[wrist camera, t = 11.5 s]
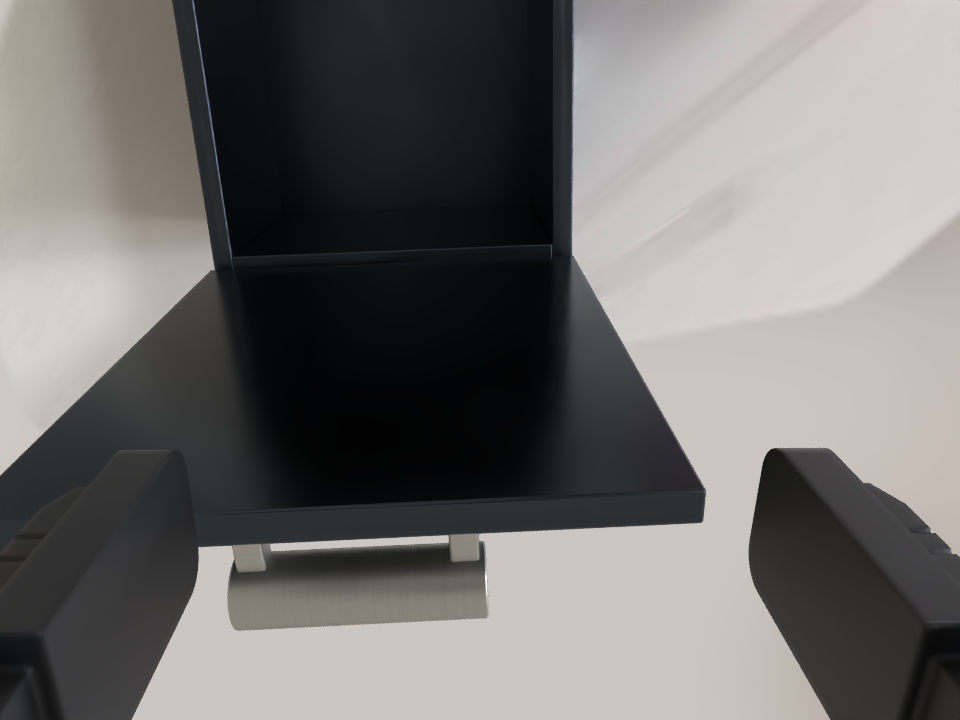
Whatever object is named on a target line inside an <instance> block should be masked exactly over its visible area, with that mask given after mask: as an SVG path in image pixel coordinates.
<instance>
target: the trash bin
mask: <svg viewBox="0 0 960 720" xmlns="http://www.w3.org/2000/svg"><path fill="white" fill-rule="evenodd" d="M172 3H173V9H174V16H175V22H176V28H177V34H178V41H179V47H180V53H181V60H182V66H183V72H184V78H185V85H186V91H187V97H188V104H189V110H190V116H191V122H192V129H193V135H194V141H195V148H196V154H197V160H198V166H199V173H200V179H201V185H202V192H203V198H204V204H205V210H206V217H207V223H208V229H209V236H210V242H211V248H212V255H213V261H214V267H215V270H232V269H257V268H281V267H306V266H331V265H355V264H380V263H405V262H429V261H454V260H479V259H503V258H528V257H553V256H572V177H573V70H574V0H172Z"/></svg>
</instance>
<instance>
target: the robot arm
mask: <svg viewBox="0 0 960 720" xmlns="http://www.w3.org/2000/svg"><path fill="white" fill-rule="evenodd" d="M198 558H199V556H198V543H197V536H196V529H195V522H194V516H193V509H192V502H191V495H190V488H189V482H188V475H187V468H186V463H185V460H184V457H183V455H182V454H181V452H180V451H178V450H120V451H118V452H117V453H115V454H114V456H113V457H112V458H111V459H110V460H109V461H108V463H107V464H106V465H105V466H104V467H103V468H102V470H101V471H100V472H99V473H98V474H97V476H96V477H95V478H94V479H93V480H92V481H91V483H90V484H89V485H88V486H87V487H75V488H73V489H71V490H70V491H68V492H66V493H65V494H63V495H62V496H60V497H58V498H57V499H55V500H53V501H52V502H50V503H48V504H47V505H45V506H43V507H42V508H40V509H39V510H38V511H37V512H36V513H35V514H34V516H33V517H32V518H31V519H30V520H29V521H28V522H27V523H26V524H25V525H24V527H23V528H22V529H21V530H20V531H19V532H18V533H17V534H16V540H11V541H10V542H9V543H8V544H7V545H6V546H5V547H4V548H3V550H2V551H1V552H0V720H131V719H132V718H133V715H134V713H135V711H136V709H137V707H138V705H139V703H140V701H141V699H142V697H143V695H144V693H145V691H146V688H147V686H148V684H149V682H150V680H151V678H152V676H153V674H154V672H155V670H156V668H157V666H158V664H159V662H160V660H161V658H162V655H163V653H164V651H165V649H166V647H167V645H168V643H169V641H170V639H171V637H172V635H173V633H174V631H175V629H176V626H177V624H178V622H179V620H180V618H181V616H182V614H183V612H184V610H185V608H186V605H187V604H188V602H189V599H190V598H191V595H192V593H193V589H194V587H195V583H196V578H197V572H198ZM749 565H750V571H751V576H752V580H753V583H754V585H755V588H756V590H757V592H758V594H759V595H760V597H761V599H762V601H763V602H764V604H765V606H766V608H767V609H768V611H769V613H770V615H771V616H772V618H773V620H774V622H775V623H776V625H777V627H778V628H779V630H780V632H781V634H782V635H783V637H784V639H785V641H786V642H787V644H788V646H789V648H790V650H791V651H792V653H793V655H794V656H795V658H796V660H797V662H798V663H799V665H800V667H801V669H802V671H803V672H804V674H805V676H806V678H807V679H808V681H809V683H810V684H811V686H812V688H813V690H814V692H815V693H816V695H817V697H818V698H819V700H820V702H821V704H822V706H823V707H824V709H825V711H826V713H827V714H828V716H829V718H830V720H960V557H959V556H958V555H957V554H952V553H951V548H950V547H949V546H948V545H947V544H946V543H945V542H944V541H943V540H942V539H941V538H940V537H939V536H938V535H937V534H936V533H931V532H930V528H929V527H928V525H926V524H925V523H924V522H923V521H922V520H921V519H920V518H919V517H918V516H917V515H916V514H915V513H914V512H913V511H912V510H911V509H910V508H909V507H908V506H907V505H906V504H905V503H903V502H901V501H900V500H898V499H896V498H894V497H893V496H891V495H889V494H887V493H886V492H884V491H882V490H880V489H879V488H877V487H875V486H873V485H872V484H870V483H863V482H862V481H861V480H860V479H859V478H858V477H857V476H856V475H855V474H854V473H853V472H852V471H851V470H850V469H849V468H848V467H847V466H846V465H845V464H844V463H843V462H842V460H841V459H840V458H839V457H838V456H837V455H836V454H835V453H834V452H833V451H831V450H829V449H828V448H774V449H771V450H770V451H769V452H768V453H767V454H766V456H765V459H764V462H763V466H762V471H761V477H760V483H759V488H758V494H757V501H756V506H755V512H754V518H753V524H752V530H751V536H750V543H749Z"/></svg>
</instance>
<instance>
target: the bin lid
mask: <svg viewBox="0 0 960 720" xmlns="http://www.w3.org/2000/svg"><path fill="white" fill-rule="evenodd" d="M120 450H178V451H180V452H181V454H182V455H183V457H184V460H185V463H186V468H187V475H188V482H189V488H190V495H191V502H192V509H193V516H194V522H195V529H196V536H197V543H198V547H210V546H232V549H233V553H234V562H233V564H232V567H231V571H230V576H229V583H228V611H229V617H230V621H231V624H232V626H233V628H234V629H235V630H238V631H240V630H261V629H281V628H299V627H320V626H340V625H360V624H380V623H399V622H418V621H439V620H459V619H478V618H487V617H488V588H487V587H488V586H487V567H486V551H485V550H486V549H485V543H484V542H483V541H479V534H481V533H500V532H521V531H542V530H563V529H584V528H605V527H626V526H645V525H646V526H647V525H667V524H687V523H701V522H702V521H703V517H704V507H705V497H706V490H705V488H704V486H703V484H702V482H701V481H700V479H699V477H698V475H697V474H696V472H695V470H694V468H693V467H692V465H691V463H690V461H689V459H688V458H687V456H686V454H685V452H684V451H683V449H682V447H681V445H680V444H679V442H678V440H677V438H676V436H675V435H674V433H673V431H672V430H671V428H670V426H669V424H668V422H667V421H666V419H665V417H664V415H663V414H662V412H661V410H660V408H659V406H658V405H657V403H656V401H655V399H654V398H653V396H652V394H651V393H650V391H649V389H648V387H647V386H646V383H645V382H644V380H643V378H642V376H641V375H640V373H639V371H638V370H637V368H636V366H635V364H634V362H633V361H632V359H631V357H630V355H629V354H628V352H627V350H626V348H625V346H624V345H623V343H622V341H621V339H620V338H619V336H618V334H617V332H616V331H615V329H614V327H613V325H612V323H611V322H610V320H609V318H608V316H607V315H606V313H605V311H604V309H603V308H602V306H601V304H600V302H599V300H598V299H597V297H596V295H595V293H594V292H593V290H592V288H591V286H590V285H589V283H588V281H587V279H586V278H585V276H584V274H583V272H582V270H581V269H580V267H579V265H578V263H577V262H576V260H575V258H574V256H553V257H528V258H503V259H479V260H454V261H429V262H405V263H380V264H355V265H331V266H306V267H281V268H257V269H232V270H211V271H210V272H209V273H208V274H207V275H206V276H205V277H204V278H203V279H202V280H201V281H200V282H199V283H198V284H196V285H195V286H194V287H193V288H192V289H191V290H190V291H189V292H188V293H187V294H186V295H185V296H184V297H183V298H182V299H181V300H180V301H179V302H178V303H177V304H176V305H175V306H174V307H173V308H172V309H171V310H170V311H169V312H168V313H167V314H166V315H165V316H164V317H163V318H162V319H161V320H160V321H158V322H157V323H156V324H155V325H154V326H153V327H152V328H151V329H150V330H149V331H148V332H147V333H146V334H145V335H144V336H143V337H142V338H141V339H140V340H139V341H138V342H137V343H136V344H135V345H134V346H133V347H132V348H131V349H130V350H129V351H128V352H127V353H126V354H125V355H124V356H123V357H122V358H120V359H119V360H118V361H117V362H116V363H115V364H114V365H113V366H112V367H111V368H110V369H109V370H108V371H107V372H106V373H105V374H104V375H103V376H102V377H101V378H100V379H99V380H98V381H97V382H96V383H95V384H94V385H93V386H92V387H91V388H90V389H89V390H88V391H87V392H86V393H85V394H83V395H82V396H81V397H80V398H79V399H78V400H77V401H76V402H75V403H74V404H73V405H72V406H71V407H70V408H69V409H68V410H67V411H66V412H65V413H64V414H63V415H62V416H61V417H60V418H59V419H58V420H57V421H56V422H55V423H54V424H53V425H52V426H51V427H50V428H49V429H48V430H47V431H45V432H44V433H43V434H42V435H41V436H40V437H39V438H38V439H37V440H36V441H35V442H34V443H33V444H32V445H31V446H30V447H29V448H28V449H27V450H26V451H25V452H24V453H23V454H22V455H21V456H20V457H19V458H18V459H17V460H16V461H15V462H14V463H13V464H12V465H11V466H10V467H9V468H7V470H6V471H4V472H3V473H2V474H1V475H0V552H1V551H2V550H3V548H4V547H5V546H6V545H7V544H8V543H9V542H10V541H11V540H16V534H17V533H18V532H19V531H20V530H21V529H22V528H23V527H24V525H25V524H26V523H27V522H28V521H29V520H30V519H31V518H32V517H33V516H34V514H35V513H36V512H37V511H38V510H39V509H40V508H42V507H43V506H45V505H47V504H48V503H50V502H52V501H53V500H55V499H57V498H58V497H60V496H62V495H63V494H65V493H66V492H68V491H70V490H71V489H73V488H75V487H87V486H88V485H89V484H90V483H91V481H92V480H93V479H94V478H95V477H96V476H97V474H98V473H99V472H100V471H101V470H102V468H103V467H104V466H105V465H106V464H107V463H108V461H109V460H110V459H111V458H112V457H113V456H114V454H115V453H117V452H118V451H120ZM438 535H449V543H435V544H414V545H393V546H373V547H352V548H334V549H333V548H332V549H314V550H313V549H312V550H290V551H271V549H270V544H273V543H291V542H292V543H294V542H314V541H335V540H356V539H376V538H397V537H417V536H438Z"/></svg>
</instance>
